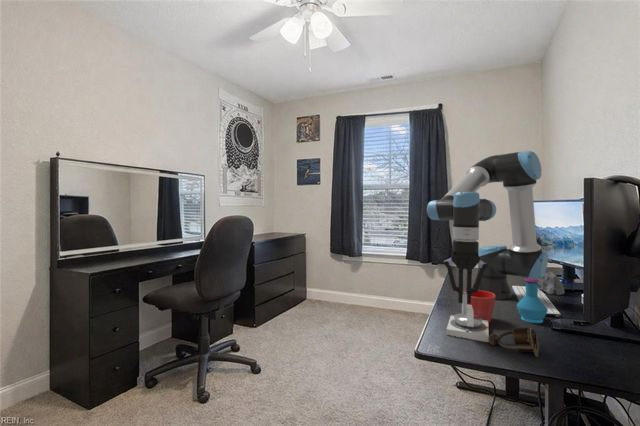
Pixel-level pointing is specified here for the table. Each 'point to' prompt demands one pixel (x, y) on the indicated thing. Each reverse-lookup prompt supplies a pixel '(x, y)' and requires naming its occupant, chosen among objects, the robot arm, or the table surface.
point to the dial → (468, 319)
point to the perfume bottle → (532, 303)
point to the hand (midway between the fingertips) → (464, 313)
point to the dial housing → (468, 331)
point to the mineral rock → (551, 284)
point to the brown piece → (519, 340)
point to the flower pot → (483, 304)
